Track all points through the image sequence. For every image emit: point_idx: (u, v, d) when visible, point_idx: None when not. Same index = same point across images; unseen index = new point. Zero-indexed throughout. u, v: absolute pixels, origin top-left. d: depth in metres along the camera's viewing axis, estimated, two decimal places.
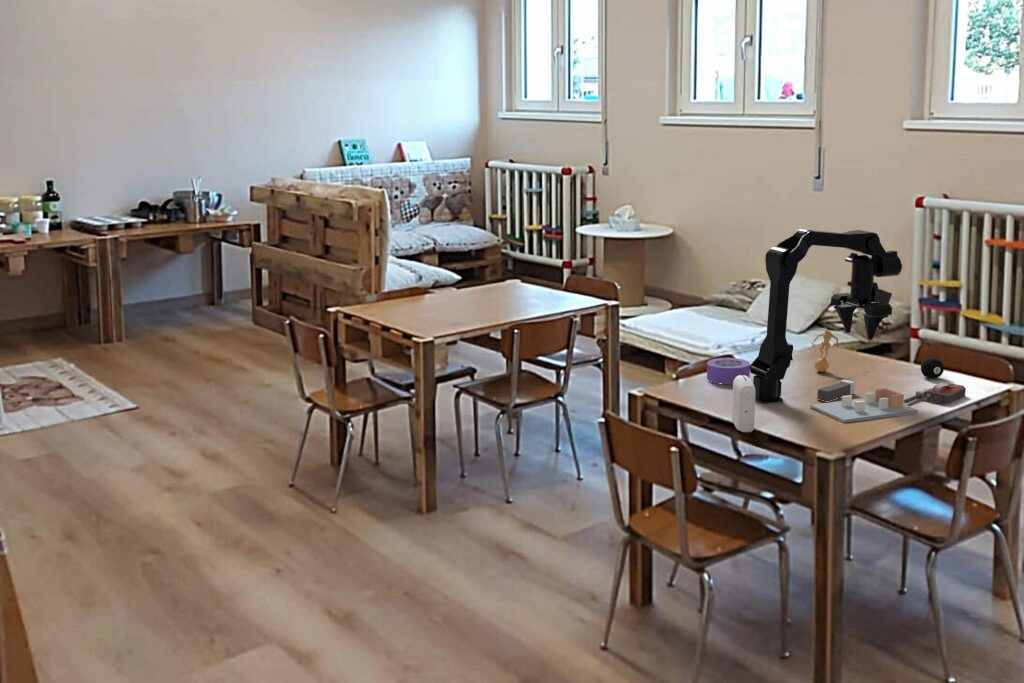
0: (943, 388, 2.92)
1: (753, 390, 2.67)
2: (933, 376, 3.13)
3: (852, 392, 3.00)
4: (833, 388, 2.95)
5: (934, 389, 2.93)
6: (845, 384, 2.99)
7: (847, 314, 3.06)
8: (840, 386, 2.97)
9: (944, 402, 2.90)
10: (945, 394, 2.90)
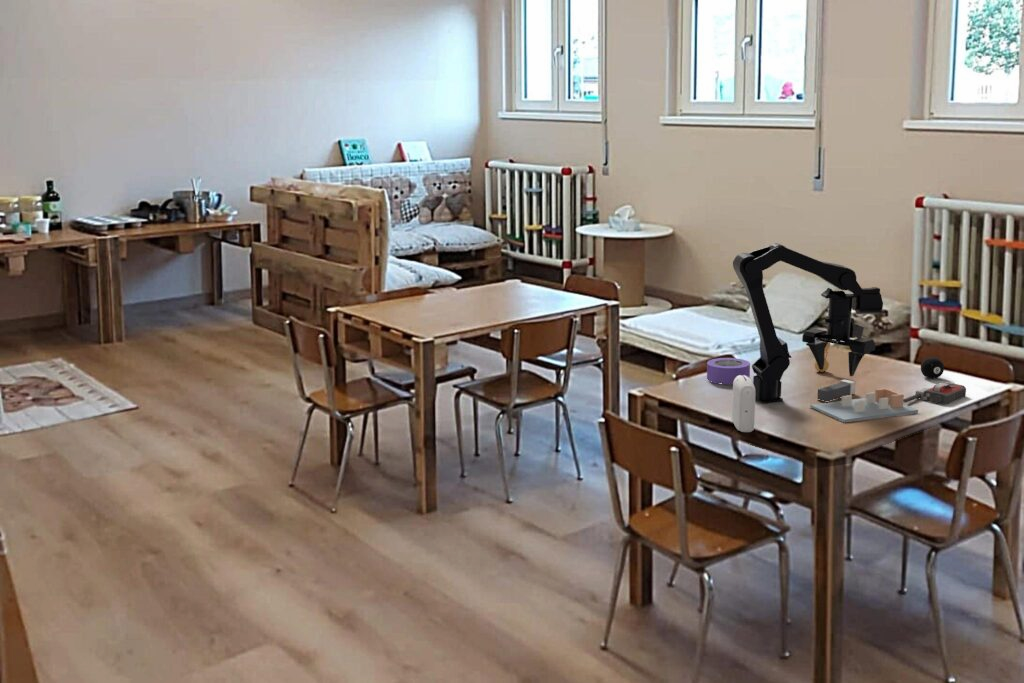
0: (943, 388, 2.92)
1: (753, 390, 2.67)
2: (933, 376, 3.13)
3: (852, 392, 3.00)
4: (833, 388, 2.95)
5: (934, 389, 2.93)
6: (845, 384, 2.99)
7: (820, 351, 2.99)
8: (840, 386, 2.97)
9: (943, 401, 2.90)
10: (945, 394, 2.90)
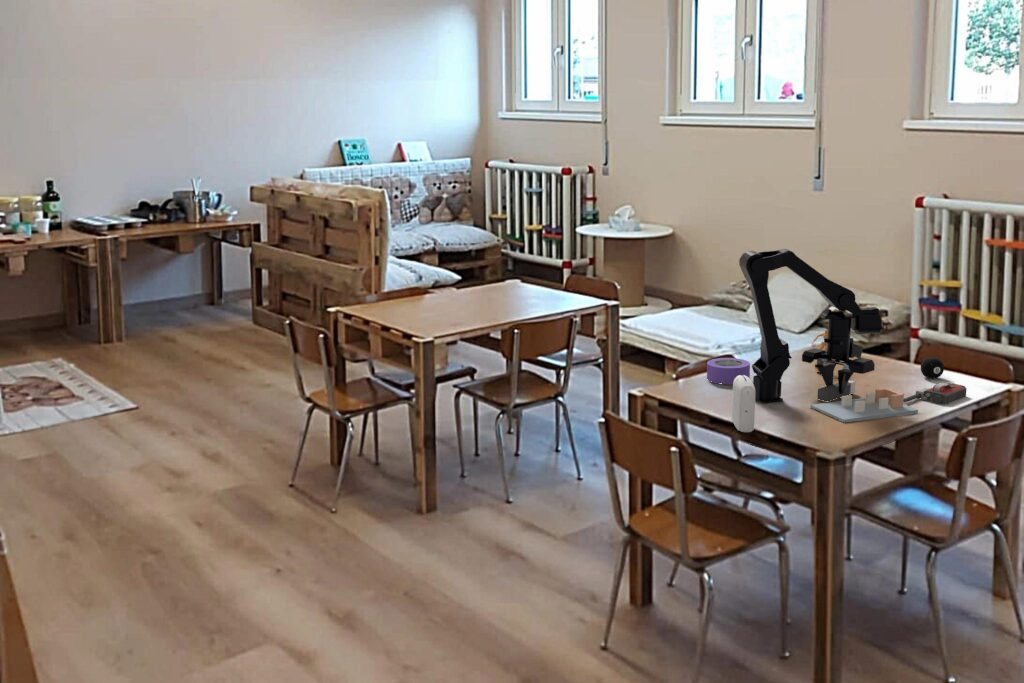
0: (943, 388, 2.92)
1: (753, 390, 2.67)
2: (933, 376, 3.13)
3: (852, 392, 3.00)
4: (833, 388, 2.95)
5: (934, 389, 2.93)
6: None
7: (829, 373, 2.98)
8: None
9: (943, 401, 2.90)
10: (944, 394, 2.90)
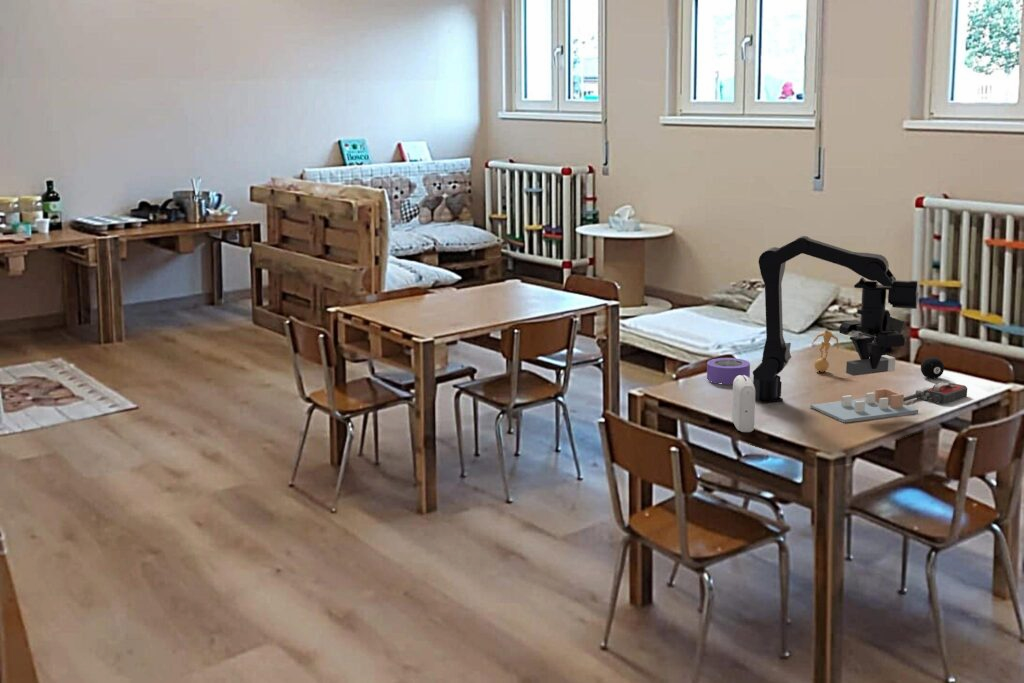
0: (942, 387, 2.92)
1: (753, 390, 2.67)
2: (933, 376, 3.13)
3: (891, 368, 2.84)
4: (864, 361, 2.82)
5: (933, 388, 2.93)
6: (882, 359, 2.84)
7: (864, 346, 2.85)
8: None
9: (942, 401, 2.91)
10: (944, 393, 2.91)
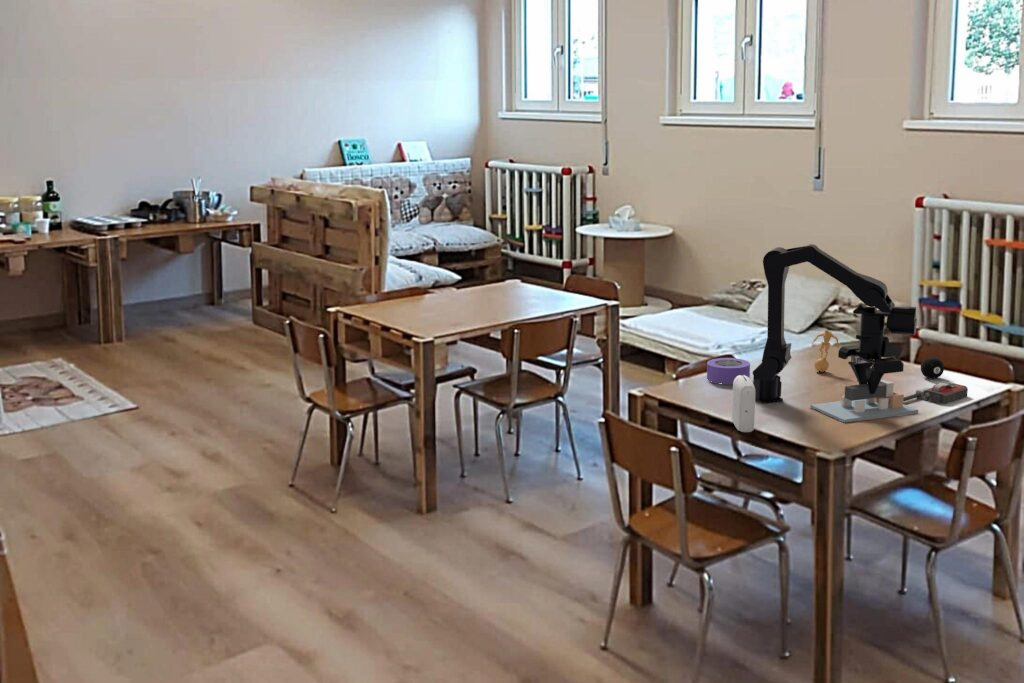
0: (942, 387, 2.93)
1: (753, 390, 2.67)
2: (933, 376, 3.13)
3: (889, 393, 2.86)
4: (862, 387, 2.83)
5: (933, 388, 2.93)
6: (881, 384, 2.85)
7: (863, 371, 2.86)
8: None
9: (942, 401, 2.91)
10: (943, 393, 2.91)
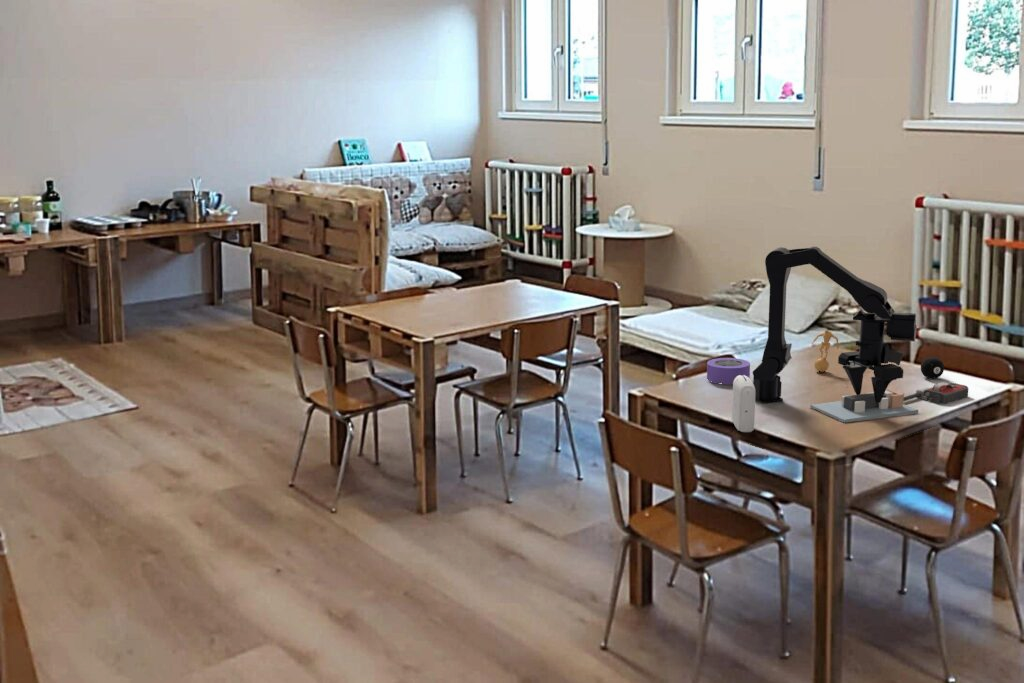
0: (943, 387, 2.93)
1: (753, 390, 2.67)
2: (933, 376, 3.13)
3: (888, 403, 2.86)
4: (862, 397, 2.84)
5: (933, 388, 2.93)
6: None
7: (857, 375, 2.88)
8: (872, 395, 2.85)
9: (942, 401, 2.91)
10: (943, 393, 2.91)
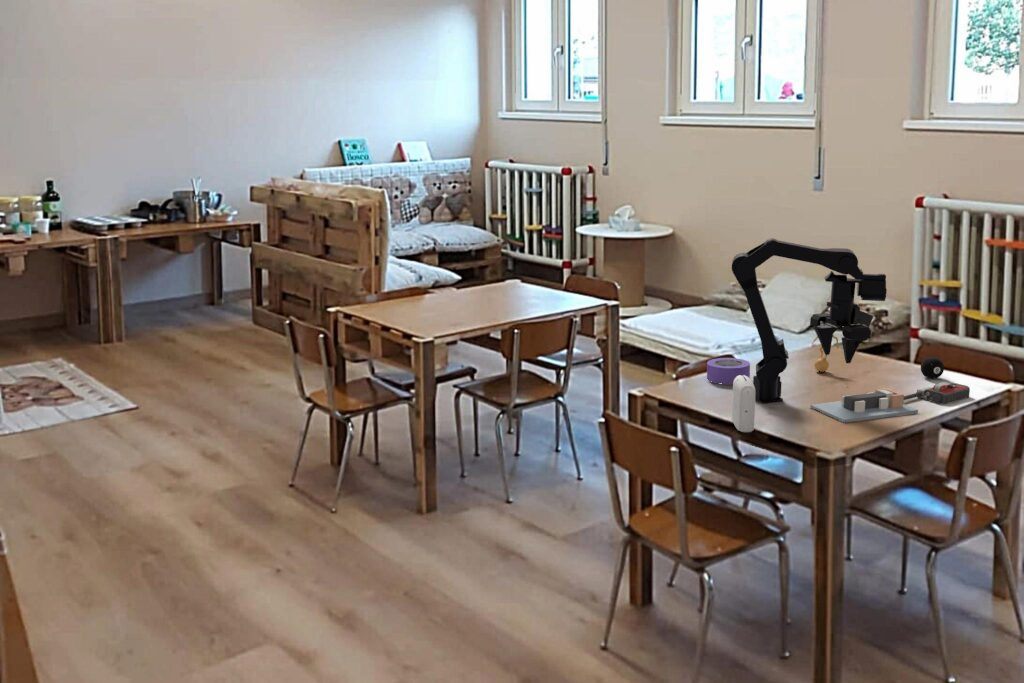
0: (943, 387, 2.93)
1: (753, 390, 2.67)
2: (933, 376, 3.13)
3: (888, 403, 2.86)
4: (862, 397, 2.84)
5: (934, 388, 2.93)
6: (880, 394, 2.86)
7: (826, 336, 2.94)
8: (872, 395, 2.85)
9: (942, 401, 2.91)
10: (943, 393, 2.91)
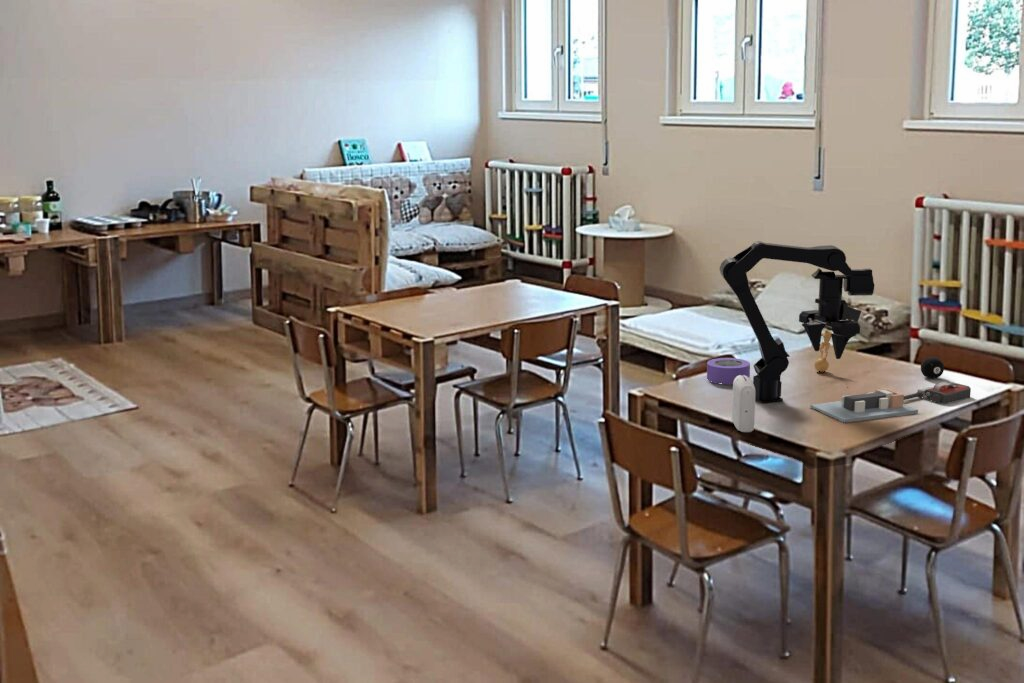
0: (943, 387, 2.93)
1: (753, 390, 2.67)
2: (933, 376, 3.13)
3: (888, 403, 2.86)
4: (862, 397, 2.84)
5: (934, 388, 2.94)
6: (880, 394, 2.86)
7: (816, 332, 2.97)
8: (872, 395, 2.85)
9: (942, 401, 2.91)
10: (944, 393, 2.91)
